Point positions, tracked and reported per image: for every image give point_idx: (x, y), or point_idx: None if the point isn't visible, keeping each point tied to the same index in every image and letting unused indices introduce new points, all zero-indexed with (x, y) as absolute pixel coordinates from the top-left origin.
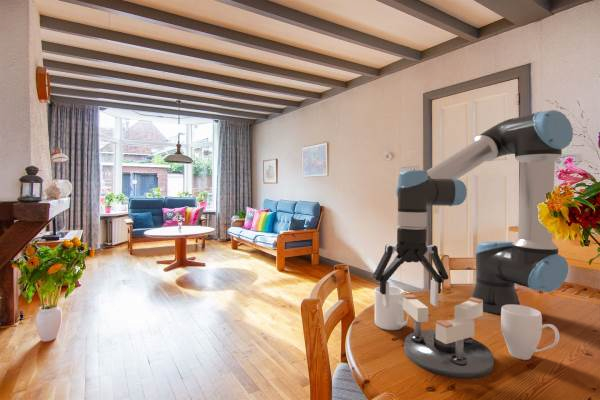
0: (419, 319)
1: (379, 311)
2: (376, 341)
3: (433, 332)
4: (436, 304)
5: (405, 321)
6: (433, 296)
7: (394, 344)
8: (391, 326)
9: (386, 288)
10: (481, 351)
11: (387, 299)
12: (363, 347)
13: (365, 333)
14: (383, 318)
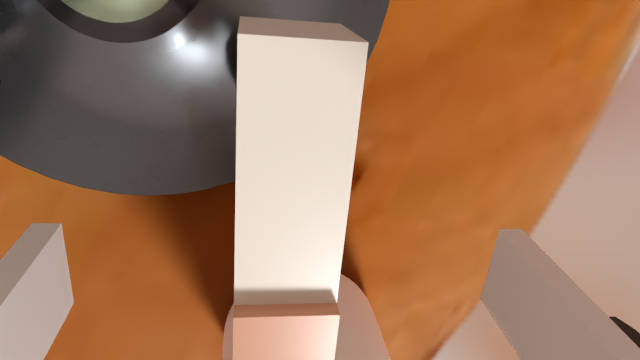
0: (327, 24)
1: (388, 354)
2: (450, 163)
3: (120, 160)
4: (38, 233)
5: None
6: (29, 310)
7: (377, 121)
8: None
9: (636, 349)
10: None
11: (551, 268)
12: (543, 111)
13: (457, 246)
14: (365, 314)
